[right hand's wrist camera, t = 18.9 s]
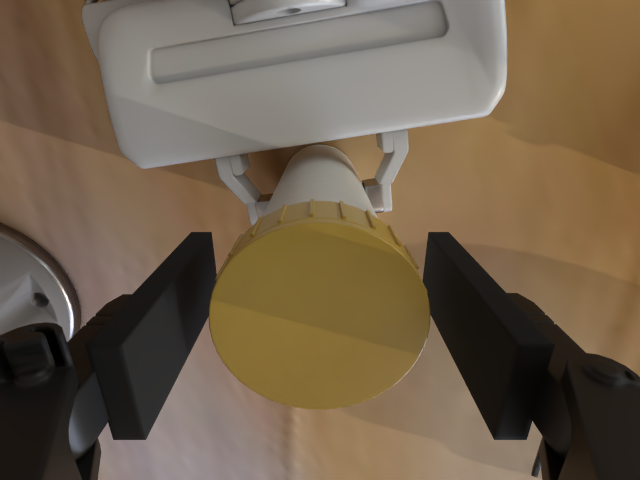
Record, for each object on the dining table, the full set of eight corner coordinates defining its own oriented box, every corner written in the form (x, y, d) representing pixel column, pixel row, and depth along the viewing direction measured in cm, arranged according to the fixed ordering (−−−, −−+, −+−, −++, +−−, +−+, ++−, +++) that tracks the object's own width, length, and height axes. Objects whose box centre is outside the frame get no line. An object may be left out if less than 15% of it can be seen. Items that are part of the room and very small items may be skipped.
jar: (362, 207, 28) (423, 369, 11) (293, 222, 29) (257, 399, 12) (348, 136, 26) (397, 207, 9) (275, 154, 27) (199, 251, 10)
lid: (356, 157, 10) (365, 171, 8) (446, 316, 12) (469, 358, 10) (185, 260, 12) (158, 293, 10) (291, 390, 14) (287, 438, 12)
